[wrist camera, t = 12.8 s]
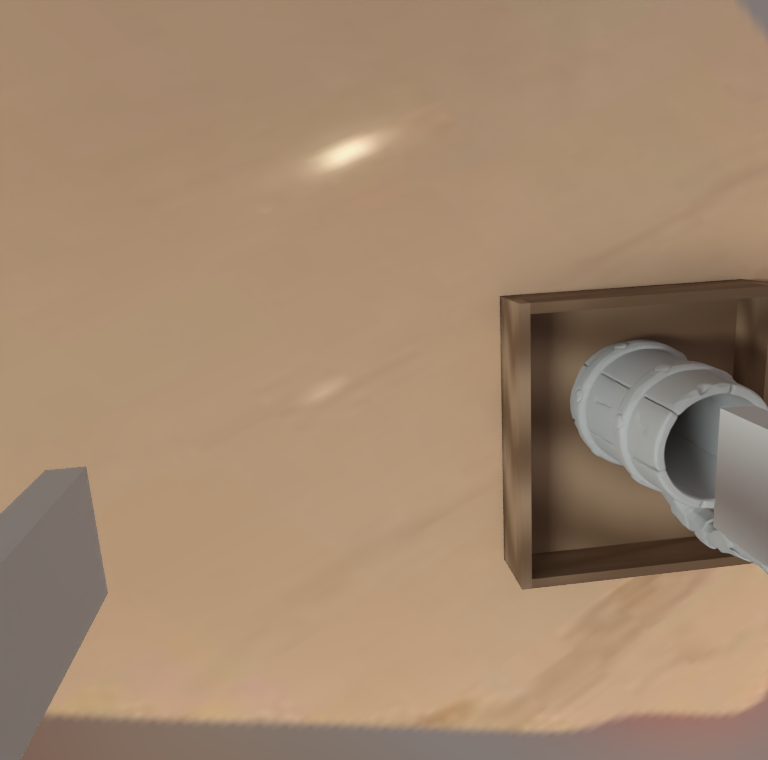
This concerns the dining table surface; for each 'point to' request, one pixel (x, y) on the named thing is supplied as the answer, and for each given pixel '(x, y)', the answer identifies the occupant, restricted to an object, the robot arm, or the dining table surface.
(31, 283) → the dining table surface
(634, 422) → the mug
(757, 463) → the robot arm
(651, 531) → the wooden tray
